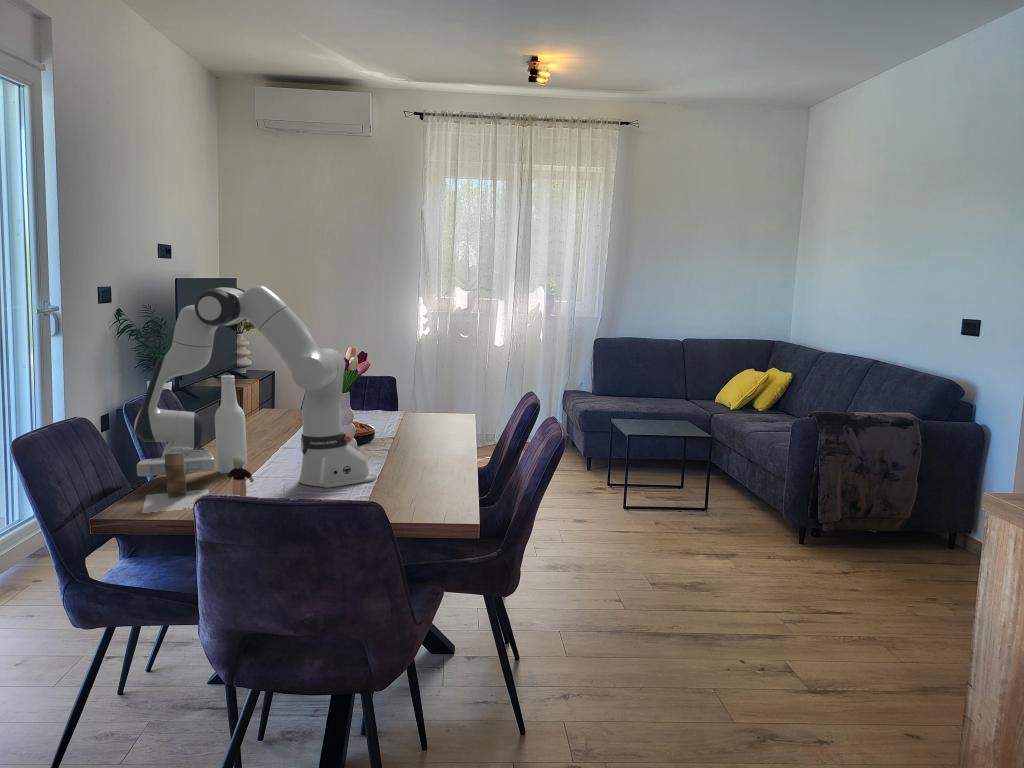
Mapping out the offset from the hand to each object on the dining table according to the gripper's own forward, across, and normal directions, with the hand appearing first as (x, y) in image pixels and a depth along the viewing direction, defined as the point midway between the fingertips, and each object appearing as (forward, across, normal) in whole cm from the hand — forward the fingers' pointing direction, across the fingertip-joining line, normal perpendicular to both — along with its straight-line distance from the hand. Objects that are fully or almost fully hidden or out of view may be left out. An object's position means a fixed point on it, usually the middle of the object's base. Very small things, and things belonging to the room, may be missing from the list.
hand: (175, 471), depth 211 cm
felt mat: (+5, 0, +7) cm, 9 cm away
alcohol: (-25, +15, +7) cm, 30 cm away
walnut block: (0, 0, +6) cm, 6 cm away
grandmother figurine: (+10, +16, +8) cm, 21 cm away
